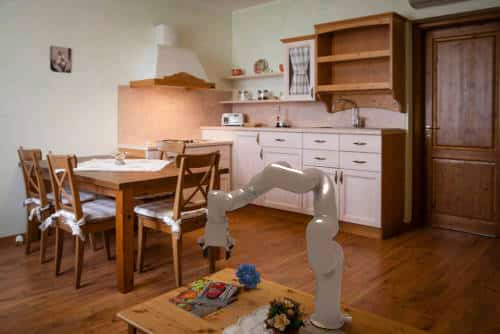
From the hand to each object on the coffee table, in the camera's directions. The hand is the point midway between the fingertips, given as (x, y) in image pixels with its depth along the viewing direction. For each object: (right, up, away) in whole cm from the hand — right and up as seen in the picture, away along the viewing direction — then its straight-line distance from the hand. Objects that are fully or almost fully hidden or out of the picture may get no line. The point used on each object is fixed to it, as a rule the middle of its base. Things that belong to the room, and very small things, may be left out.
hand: (216, 258), depth 187 cm
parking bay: (-1, -17, +2) cm, 17 cm away
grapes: (+13, -16, +9) cm, 23 cm away
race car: (0, -16, +2) cm, 16 cm away
